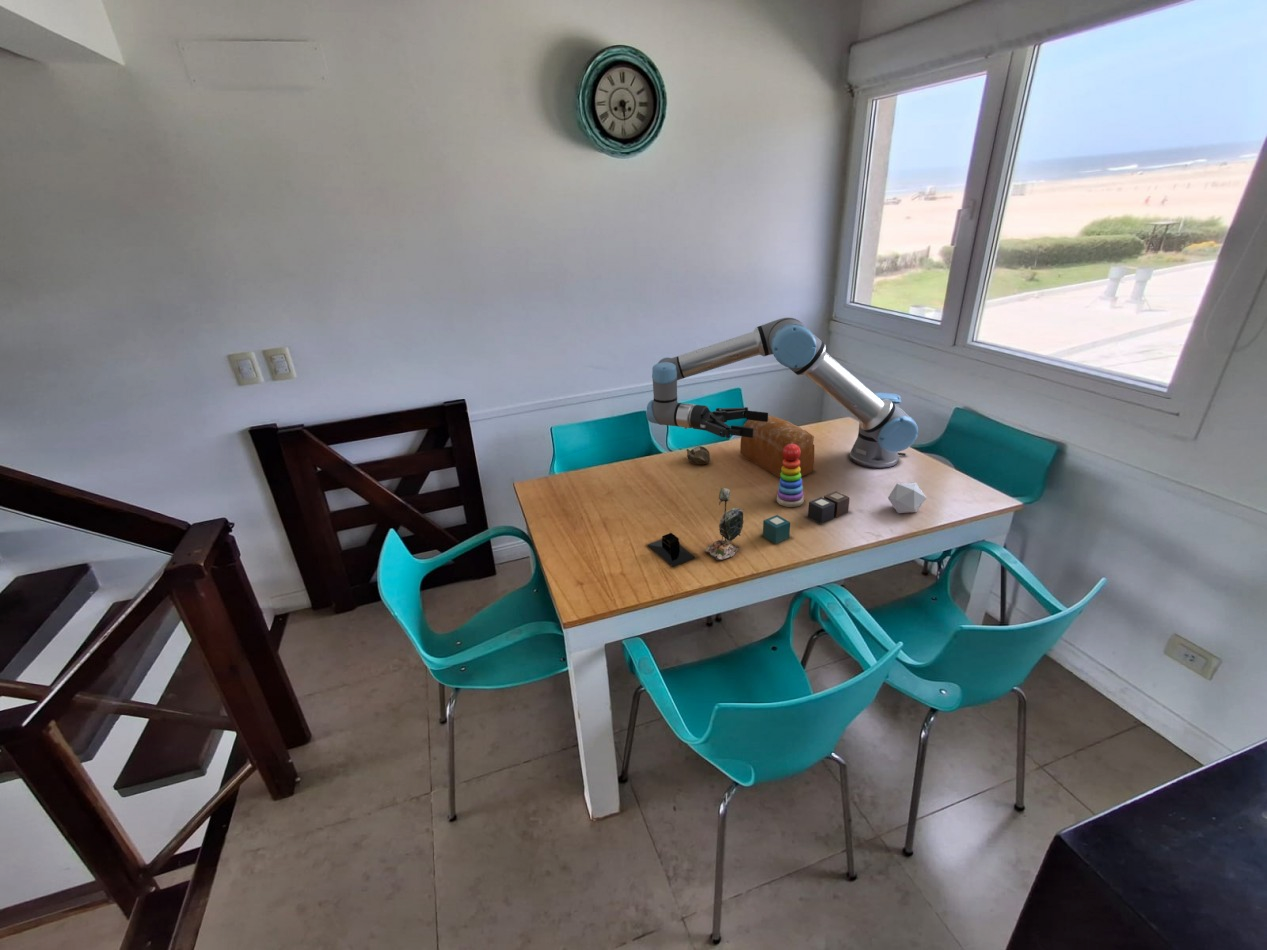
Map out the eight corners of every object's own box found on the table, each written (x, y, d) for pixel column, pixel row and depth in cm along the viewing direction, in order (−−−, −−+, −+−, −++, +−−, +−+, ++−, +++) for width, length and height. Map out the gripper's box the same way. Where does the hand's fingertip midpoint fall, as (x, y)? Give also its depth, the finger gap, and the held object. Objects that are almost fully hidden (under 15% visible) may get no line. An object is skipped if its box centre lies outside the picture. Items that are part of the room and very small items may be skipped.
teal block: (776, 530, 154) (777, 514, 152) (789, 538, 150) (790, 521, 148) (762, 536, 152) (763, 519, 150) (775, 544, 148) (776, 527, 146)
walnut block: (834, 505, 164) (836, 490, 162) (848, 512, 160) (850, 496, 158) (822, 510, 162) (823, 495, 160) (836, 517, 158) (837, 501, 156)
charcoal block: (820, 511, 162) (821, 496, 159) (833, 518, 158) (835, 503, 155) (807, 517, 159) (808, 501, 157) (821, 524, 156) (822, 508, 153)
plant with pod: (752, 551, 146) (754, 483, 137) (715, 564, 142) (715, 494, 133) (734, 537, 152) (735, 471, 144) (699, 549, 148) (697, 482, 140)
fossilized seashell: (681, 451, 202) (687, 466, 194) (691, 437, 199) (697, 452, 191) (698, 458, 205) (705, 473, 197) (708, 444, 202) (715, 459, 194)
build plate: (647, 546, 152) (646, 531, 150) (670, 537, 155) (669, 523, 153) (673, 567, 142) (672, 551, 140) (696, 557, 145) (695, 542, 143)
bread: (784, 482, 180) (786, 437, 173) (736, 455, 201) (737, 414, 195) (817, 472, 185) (821, 428, 178) (767, 447, 207) (769, 406, 200)
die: (919, 523, 154) (937, 491, 153) (891, 508, 154) (909, 476, 153) (904, 518, 162) (921, 488, 162) (877, 504, 162) (895, 473, 161)
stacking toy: (805, 498, 170) (809, 441, 162) (801, 510, 163) (805, 451, 155) (779, 494, 173) (782, 438, 165) (773, 506, 166) (776, 448, 158)
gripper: (709, 415, 184) (772, 422, 174) (677, 442, 164) (746, 452, 154) (709, 393, 180) (773, 399, 171) (676, 418, 161) (746, 427, 151)
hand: (760, 424), depth 162 cm, fingers open, 13 cm apart
